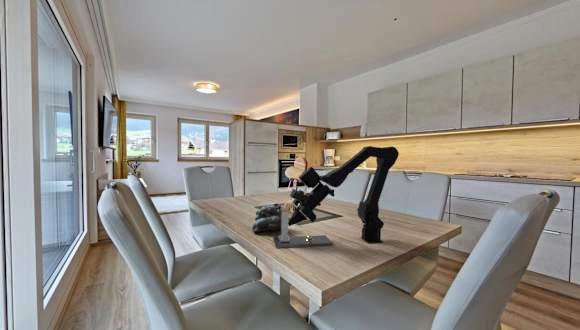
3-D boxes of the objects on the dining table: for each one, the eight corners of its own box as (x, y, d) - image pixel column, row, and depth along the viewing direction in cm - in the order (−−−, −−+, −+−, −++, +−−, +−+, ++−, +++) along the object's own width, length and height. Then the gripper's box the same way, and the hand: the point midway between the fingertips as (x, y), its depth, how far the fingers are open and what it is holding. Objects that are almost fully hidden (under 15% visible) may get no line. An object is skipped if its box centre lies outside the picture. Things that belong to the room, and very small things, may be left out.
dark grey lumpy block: (245, 232, 103) (247, 202, 109) (261, 236, 112) (262, 208, 119) (274, 227, 96) (274, 195, 103) (289, 232, 106) (287, 202, 112)
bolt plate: (325, 237, 99) (325, 231, 99) (332, 245, 90) (332, 238, 90) (273, 239, 95) (273, 233, 95) (275, 248, 86) (275, 241, 86)
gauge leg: (288, 237, 94) (288, 207, 94) (290, 241, 89) (290, 209, 89) (278, 238, 93) (279, 207, 93) (279, 242, 89) (280, 210, 88)
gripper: (297, 180, 101) (271, 205, 99) (308, 184, 83) (276, 216, 81) (314, 198, 103) (289, 223, 101) (329, 206, 84) (298, 238, 83)
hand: (288, 224), depth 91 cm, fingers closed, pressing on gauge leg
